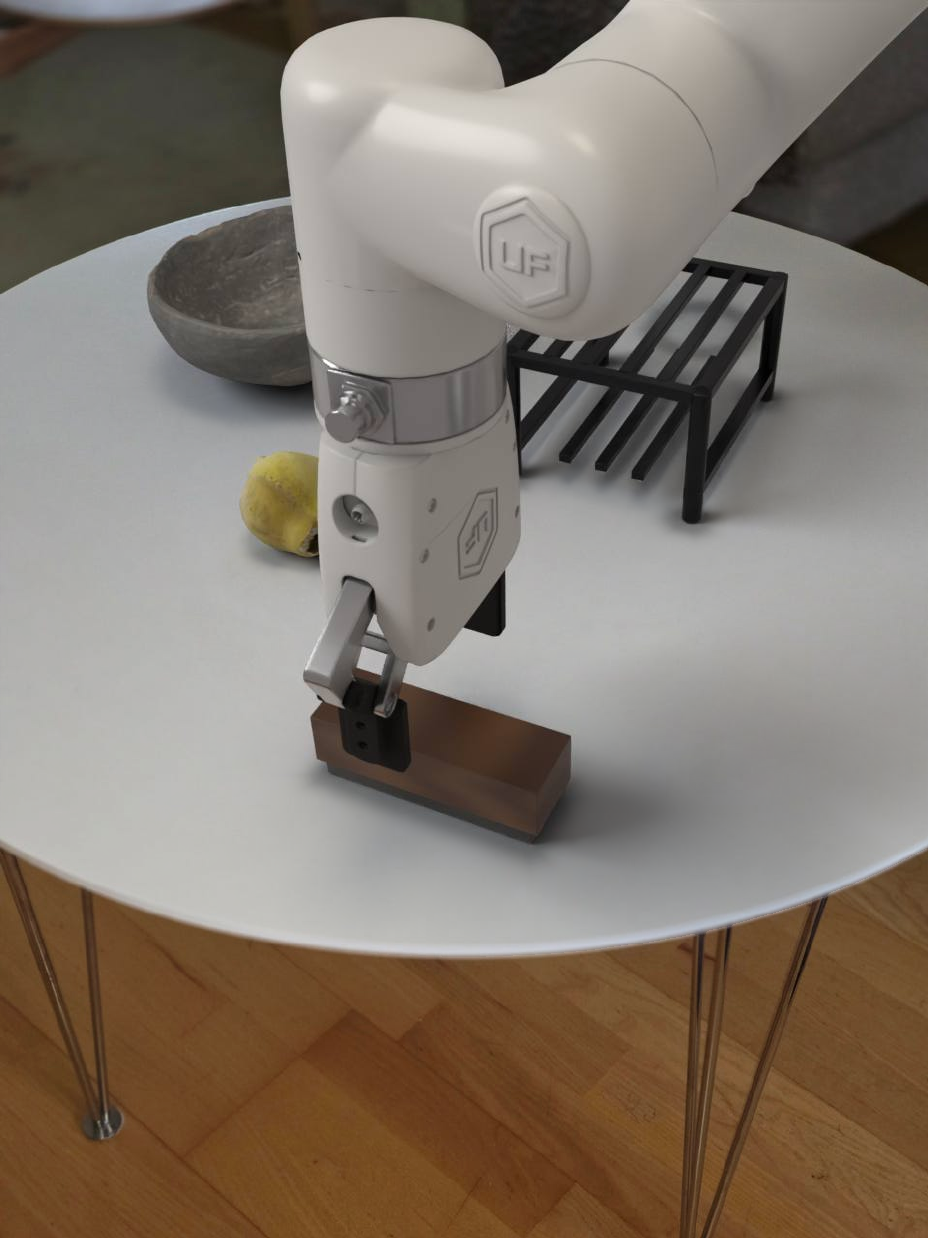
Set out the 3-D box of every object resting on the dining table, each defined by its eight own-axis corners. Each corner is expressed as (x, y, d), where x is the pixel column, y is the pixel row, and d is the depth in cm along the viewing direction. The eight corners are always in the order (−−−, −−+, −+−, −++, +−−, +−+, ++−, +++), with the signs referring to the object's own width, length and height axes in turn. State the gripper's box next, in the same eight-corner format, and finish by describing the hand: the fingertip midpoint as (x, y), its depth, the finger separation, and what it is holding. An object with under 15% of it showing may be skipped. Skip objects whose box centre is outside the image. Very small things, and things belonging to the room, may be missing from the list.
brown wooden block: (570, 792, 67) (571, 735, 64) (537, 850, 64) (537, 793, 62) (358, 721, 71) (350, 665, 69) (318, 773, 68) (309, 716, 66)
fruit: (324, 607, 78) (206, 523, 82) (392, 579, 83) (277, 500, 87) (345, 521, 75) (222, 439, 79) (414, 497, 80) (294, 420, 84)
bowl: (201, 454, 91) (180, 347, 85) (137, 337, 103) (115, 238, 98) (449, 387, 96) (443, 282, 91) (359, 283, 108) (349, 185, 103)
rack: (775, 394, 93) (790, 272, 87) (697, 525, 83) (708, 397, 77) (595, 356, 98) (598, 239, 92) (499, 476, 87) (496, 352, 81)
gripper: (386, 518, 45) (412, 848, 57) (586, 289, 57) (574, 601, 68) (199, 465, 48) (259, 790, 59) (426, 256, 60) (440, 562, 71)
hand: (428, 689), depth 64 cm, fingers open, 9 cm apart
